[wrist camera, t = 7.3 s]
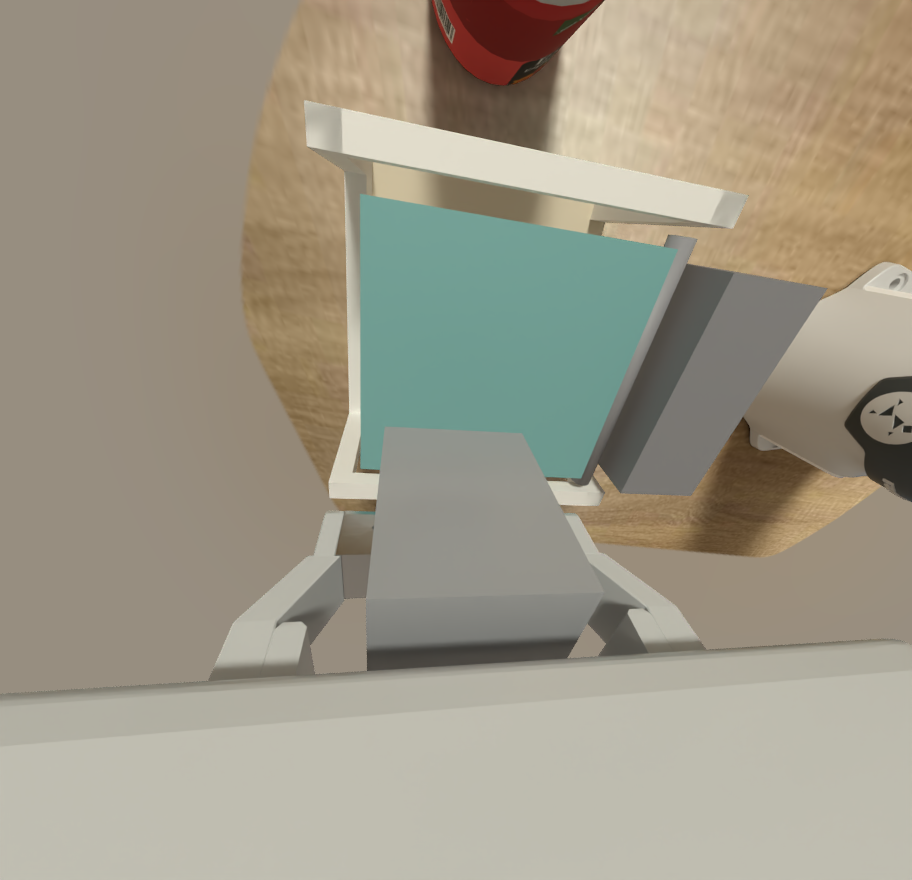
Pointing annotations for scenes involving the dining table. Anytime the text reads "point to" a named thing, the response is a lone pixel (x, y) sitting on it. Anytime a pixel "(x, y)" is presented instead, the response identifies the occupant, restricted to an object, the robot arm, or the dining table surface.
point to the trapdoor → (563, 342)
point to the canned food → (508, 33)
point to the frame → (490, 194)
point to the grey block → (471, 555)
